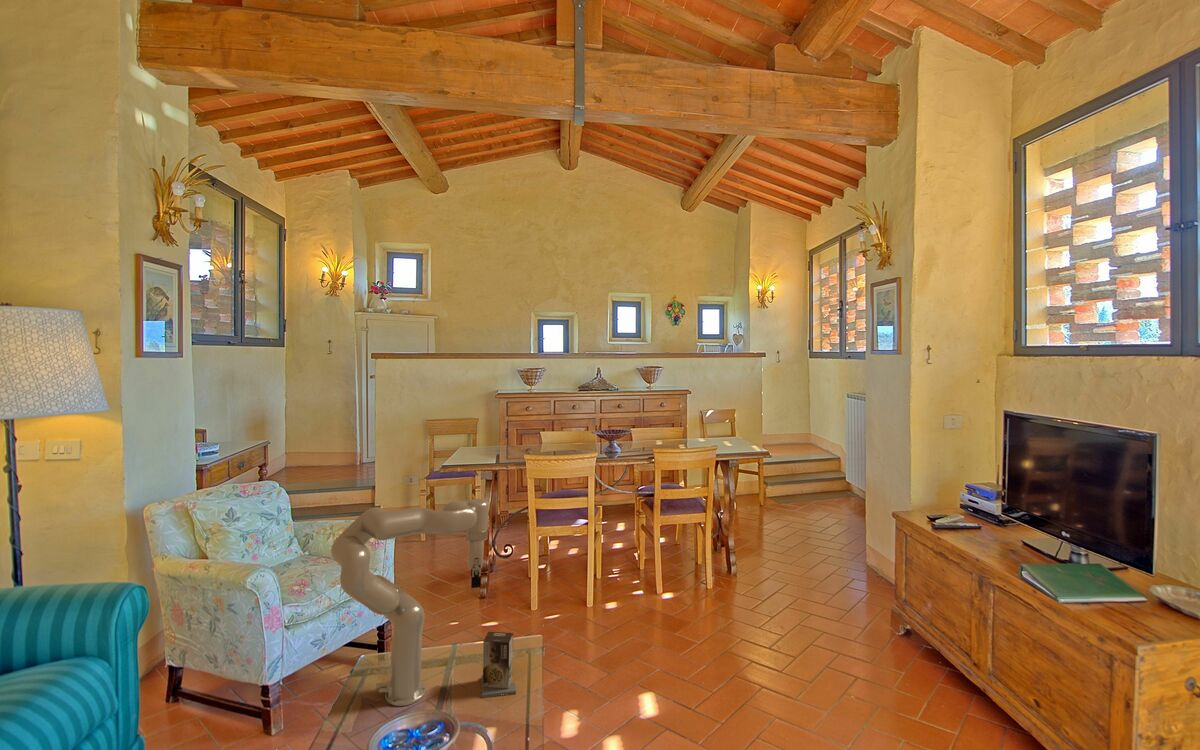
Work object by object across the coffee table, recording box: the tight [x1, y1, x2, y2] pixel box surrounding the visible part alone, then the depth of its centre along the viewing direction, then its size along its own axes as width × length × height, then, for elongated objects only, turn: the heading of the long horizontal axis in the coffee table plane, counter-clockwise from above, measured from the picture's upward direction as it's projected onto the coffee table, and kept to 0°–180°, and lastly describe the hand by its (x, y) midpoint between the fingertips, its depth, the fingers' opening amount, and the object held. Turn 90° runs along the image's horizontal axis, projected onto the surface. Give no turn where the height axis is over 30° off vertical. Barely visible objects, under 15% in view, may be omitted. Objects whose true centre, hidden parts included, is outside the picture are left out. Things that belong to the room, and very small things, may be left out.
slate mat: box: [480, 674, 517, 699], centre depth 186 cm, size 11×11×1 cm
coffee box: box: [482, 631, 514, 688], centre depth 186 cm, size 9×6×16 cm
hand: (475, 581), depth 195 cm, fingers open, 9 cm apart
